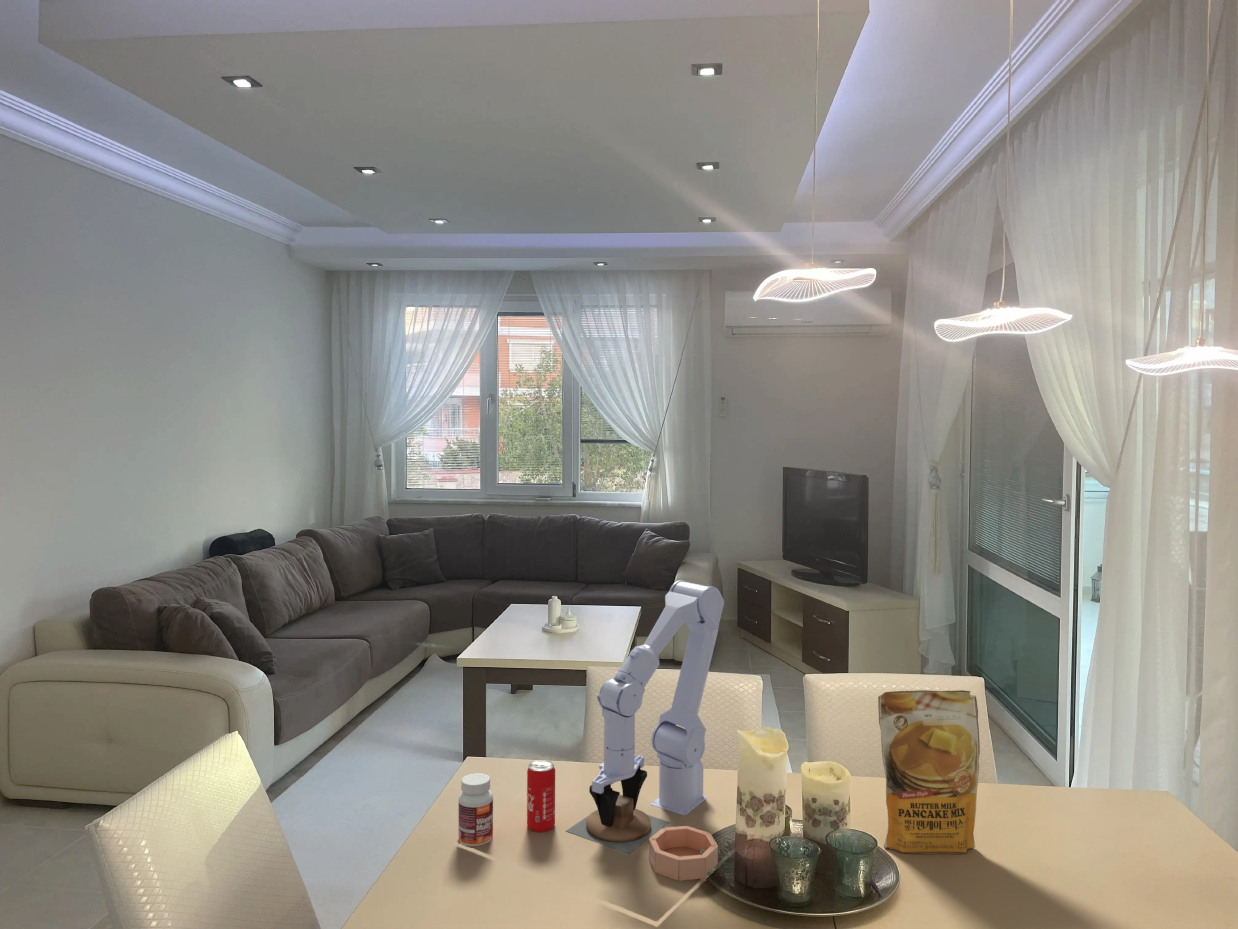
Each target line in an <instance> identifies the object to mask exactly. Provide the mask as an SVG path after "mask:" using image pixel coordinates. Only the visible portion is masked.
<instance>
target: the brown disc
mask: <svg viewBox="0 0 1238 929" xmlns="http://www.w3.org/2000/svg"><path fill="white" fill-rule="evenodd" d="M648 815H649V814H647V813H646V812H644V811H642V810H640V809H638V808H635V810H634V811H633V799H632V798H629V797H626V796H623V794H619V796H618V799H617V802H616V806H615V812H614V822H613V825H612V826H611V827H608V826H605V825H602V824H601V820H600V816H599V812H598V809H596V810H594V811H593V812H591V813H590V814H589V815H587V816H588V817H587V816H586V817H587V820H586V829H587V831H588V832H589V834H591V835H592V836H593V837H595V838H597V839H600V840H603V841H607V842H616V843H622V842H630V841H635V840H638V839H640V838H642V837H644V836H646V835H647V834H648V833H649V831H650V828H651V820H650V818H649V816H648Z"/></svg>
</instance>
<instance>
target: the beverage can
mask: <svg viewBox="0 0 1238 929" xmlns="http://www.w3.org/2000/svg"><path fill="white" fill-rule="evenodd" d="M526 775H527V776H526V777H527V778H526V783H527V784H526V787H527V789H526V825H527V827H528V829H529V830H530V831H532V832H536V833H545V832H549V831H551V830H552V829H553V828H554V826H555V824H556V768H555V764H554V763H553V762H552V761H548V760H535V761H532V762H531V763H529V764H528V768H527V771H526Z"/></svg>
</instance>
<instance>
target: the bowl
mask: <svg viewBox="0 0 1238 929" xmlns="http://www.w3.org/2000/svg"><path fill="white" fill-rule="evenodd" d="M701 849H704V850H705V852H704V853H703V854H702V855H700V851H701ZM718 855H719V845H718V844H717V842H716V840H715V839H714V837H713V835H712V833H710V832H708V831H705V830H702V829H699V828H695V827H692V826H690V825H682V826H681V825H680V826H669V827H663V828H662V829H660V830H659V831H658V832H657V833H655V834H654V835H653V836H652V837H650V838H649V839H648V860H649V863H650V864H651V866H652V869H653V872H654V873H656V874H659V875H661V876H664V877H667V878H671V879H673V880H676V881H678V882H680V881H681V882H682V881H689V880H698V881H697V883H700V882H706V881H707V880H706V874H707V872H708V871H709V870H710V869H712V868H714V867H715V866H716V865H717V864H718V863H719V858H718V857H719V856H718Z"/></svg>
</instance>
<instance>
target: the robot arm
mask: <svg viewBox="0 0 1238 929" xmlns="http://www.w3.org/2000/svg"><path fill="white" fill-rule="evenodd" d="M664 602H665V603H664V604H665V607H664V608H663V610H662V612H661V613H660V615H659V617H658V618H657V620H656V622H655V624H654V626H653V628H652V629H651V631H650V633H649V635H648V637H647V638H646V640H645V642H644V643H643V644H641V645H636V646H634V647H633V649H631V650H630V651H629V653H628V656H627V657H626V660H624V661H623V664H622V665H621V667H620V668H619V670H618V671H617V672H616V674H615V675H614V677H613V678H609V680H607V681H604V682H603V684H602V685H601V687H600V689H599V693H598V694H597V696H596V698H597V699H596V700H597V703H598V705H599V706H600V708H601V715H602V716H603V762H602V763H599V764H598V768H599V770H600V771H599V773H598V775H597V776H596V777H595V778H594V779H593V780H592V781H591V784H590V785H589V790H588V791H589V794H590V795H591V796H592V799H593V800H594V803H595V805H596V808H597V810H598V812H599V816H600V820H601V824H602V825H605V826H608V827H611V826H612V825H613V822H614V812H615V806H616V802H617V799H618V796H619V795H621V792H620V791H617V790H613V787H612V785H613V784H614V783H617V782H620V784H621V790H622V795H623V796H626V797H629V798H632V799H633V811H634V810H635V809H637V805H638V804H637V803H638V800H639V797H640V793H641V790H642V787H643V785H644V782H645V781H646V778H647V777H648V771H647V770H644V769H642V768H643V767H645V756H643V755H639V754H635V751H636V750H635V748H636V745H635V739H636V738H635V736H636V729H635V728H636V727H635V726H636V713H637V712H638V711H639V710H640V708H641V706H642V704H643V697H644V694H645V691H646V689H645V688H646V686H647V684H648V683H649V682H650V680H651V679H652V677H653V675H654V674H655V672H657V671H656V670H657V669H658V668H659V666H660V658H659V655H660V654H661V653H662V651H663V650H664V649H665V647H666V646H667V645H668V644H669V642H670V641H671V639H673V637H674V636H675V634H676V633H677V632H678V630H679V629H680V628H681V627H682V626H683V625H686V626H687V627H688V629H689V634H688V637H687V638H688V639H687V642H686V647H685V651H684V655H683V660H682V663H681V667H680V671H679V675H678V680H677V683H676V688H675V691H674V696H673V700H672V703H671V707H670V708H669V709H667V710H666V711H664V712H662V713H661V714H660V716H659V719H658V722H657V724H656V726H655V728H654V729H653V731H652V734H651V738H650V740H651V743H650V744H651V747H652V749H653V750H654V751H655V752H656V758H657V759H658V760H659V764H658V765H659V769H658V770H659V772H658V773H659V774H658V775H659V778H658V779H659V780H658V781H659V782H658V787H659V789H658V798H656V799H655V800H654V801H652V802H651V803H650V805H651V806H653V807H656V808H660V809H663V810H665V811H668V812H672V813H675V814H679V815H683V816H685V815H687V814H689V813H690V812H691V811H692V810H693V809H695V808H696V807H698V806H699V805H700V804H702V803H703V801H705V800H707V799H708V797H707V796H706V795H704V766H703V762H702V760H701V759H702V758H703V756H704V754H705V750H706V749H705V748H706V747H705V746H706V744H705V743H706V742H705V740H706V739H705V737H706V731H707V728H706V727H705V725H704V723H703V722H702V720H701V718H700V717H699V712H700V707H701V703H702V698H703V695H704V691H705V686H706V682H707V678H708V674H709V670H710V666H711V662H712V658H713V654H714V649H715V646H716V641H717V636H718V633H719V627H720V622H721V617H722V614H723V610H724V607H725V606H724V605H725V600H724V597H723V596H722V594H721V592H720V590H719V589H718V588H717V587H715V586H711V585H710V586H706V585H703V584H698V583H693V582H688V581H685V580H682V579H679V580H676V581H675V582H673V584H671V586H670V588H669V591H668V592H667V593H666V594H665V596H664Z"/></svg>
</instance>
